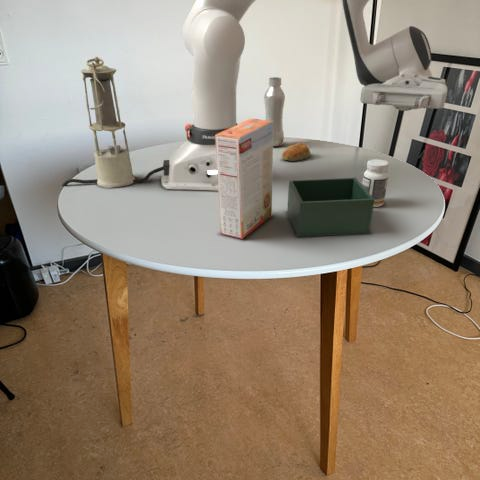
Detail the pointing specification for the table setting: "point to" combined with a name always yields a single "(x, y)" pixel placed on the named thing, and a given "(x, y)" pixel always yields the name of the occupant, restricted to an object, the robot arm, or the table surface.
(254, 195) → the cracker box
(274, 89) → the plastic bottle
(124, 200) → the table surface
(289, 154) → the pastry
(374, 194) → the pill bottle
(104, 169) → the lamp
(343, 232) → the bin
